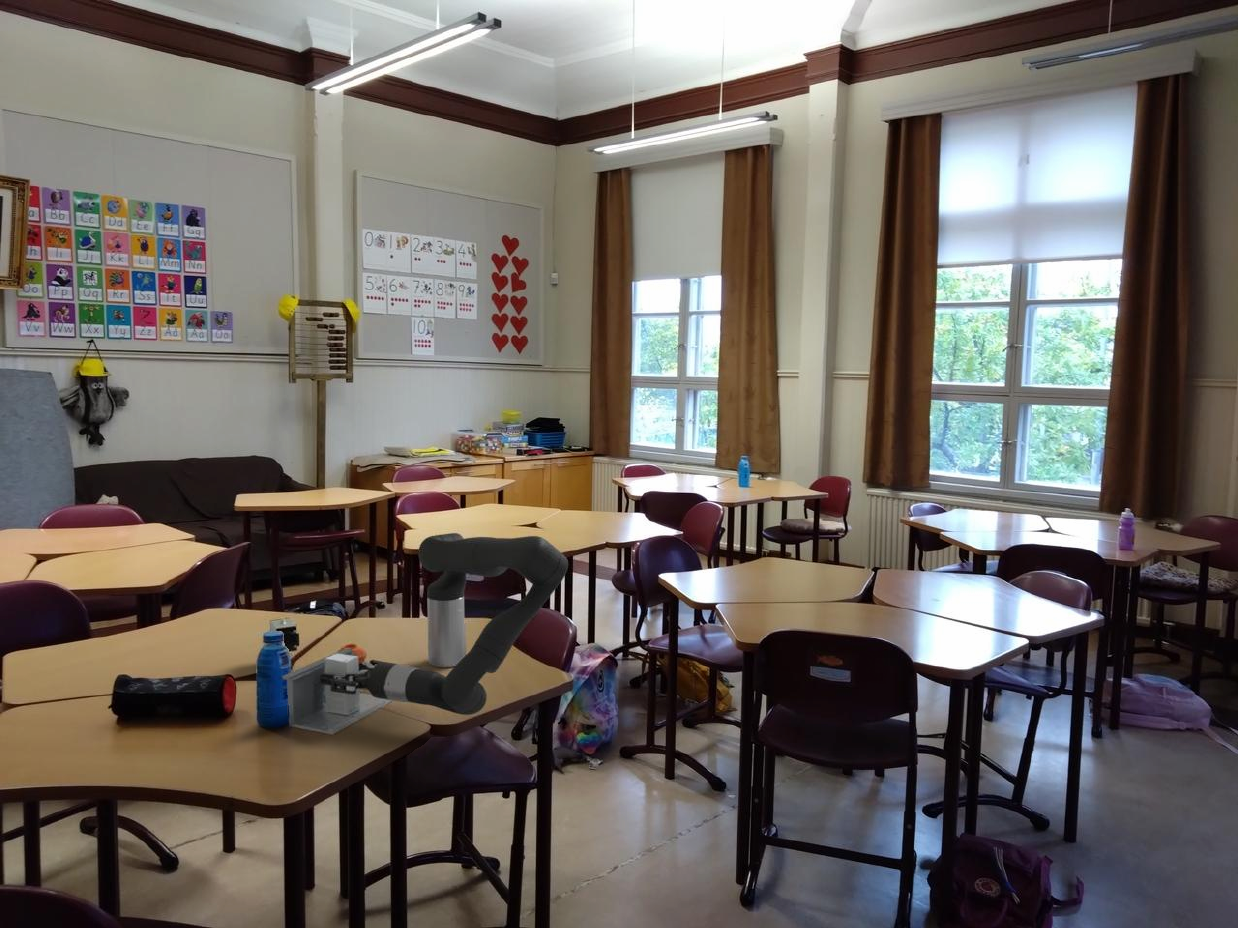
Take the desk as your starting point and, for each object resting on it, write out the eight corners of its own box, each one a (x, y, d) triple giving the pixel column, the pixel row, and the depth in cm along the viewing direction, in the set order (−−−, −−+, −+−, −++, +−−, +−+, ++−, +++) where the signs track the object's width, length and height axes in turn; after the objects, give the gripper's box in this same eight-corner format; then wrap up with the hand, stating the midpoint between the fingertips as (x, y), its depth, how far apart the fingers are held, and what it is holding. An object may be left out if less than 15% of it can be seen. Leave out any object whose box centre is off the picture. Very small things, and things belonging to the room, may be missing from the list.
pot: (364, 673, 217) (357, 647, 216) (334, 680, 217) (326, 654, 216) (373, 661, 225) (366, 636, 224) (344, 668, 225) (337, 643, 224)
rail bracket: (346, 693, 204) (345, 648, 203) (391, 701, 200) (390, 655, 199) (283, 724, 186) (282, 676, 185) (332, 734, 181) (331, 684, 180)
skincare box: (360, 709, 193) (359, 656, 192) (347, 716, 189) (346, 662, 188) (338, 704, 196) (336, 652, 194) (325, 711, 192) (323, 658, 190)
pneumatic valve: (278, 673, 217) (277, 626, 216) (269, 660, 227) (268, 614, 226) (302, 669, 220) (300, 622, 219) (292, 656, 230) (291, 611, 229)
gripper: (416, 655, 193) (355, 645, 199) (375, 675, 179) (311, 665, 185) (416, 688, 193) (356, 678, 199) (376, 711, 180) (312, 699, 186)
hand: (334, 672), depth 192 cm, fingers open, 8 cm apart
